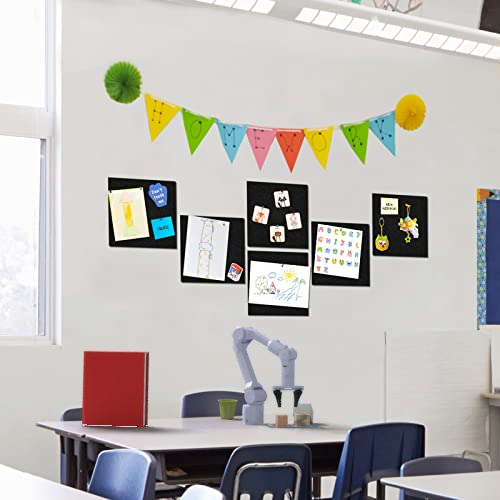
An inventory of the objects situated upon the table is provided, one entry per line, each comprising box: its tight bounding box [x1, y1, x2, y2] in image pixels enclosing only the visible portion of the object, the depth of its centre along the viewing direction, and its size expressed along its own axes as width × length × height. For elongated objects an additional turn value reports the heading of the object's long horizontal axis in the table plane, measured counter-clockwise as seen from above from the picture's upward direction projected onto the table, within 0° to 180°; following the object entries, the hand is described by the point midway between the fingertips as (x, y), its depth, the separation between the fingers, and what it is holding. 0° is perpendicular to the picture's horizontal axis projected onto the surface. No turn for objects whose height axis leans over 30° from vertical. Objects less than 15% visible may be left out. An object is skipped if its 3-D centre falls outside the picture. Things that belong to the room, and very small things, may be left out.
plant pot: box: [217, 399, 239, 420], centre depth 476 cm, size 9×9×9 cm
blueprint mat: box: [264, 423, 325, 429], centre depth 442 cm, size 24×16×1 cm, turn 99°
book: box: [81, 350, 150, 428], centre depth 436 cm, size 27×8×32 cm, turn 83°
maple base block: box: [293, 414, 311, 426], centre depth 444 cm, size 6×6×5 cm
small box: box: [292, 402, 315, 424], centre depth 454 cm, size 8×6×10 cm
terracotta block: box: [274, 414, 289, 427], centre depth 438 cm, size 4×4×5 cm
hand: (287, 407), depth 441 cm, fingers open, 7 cm apart
